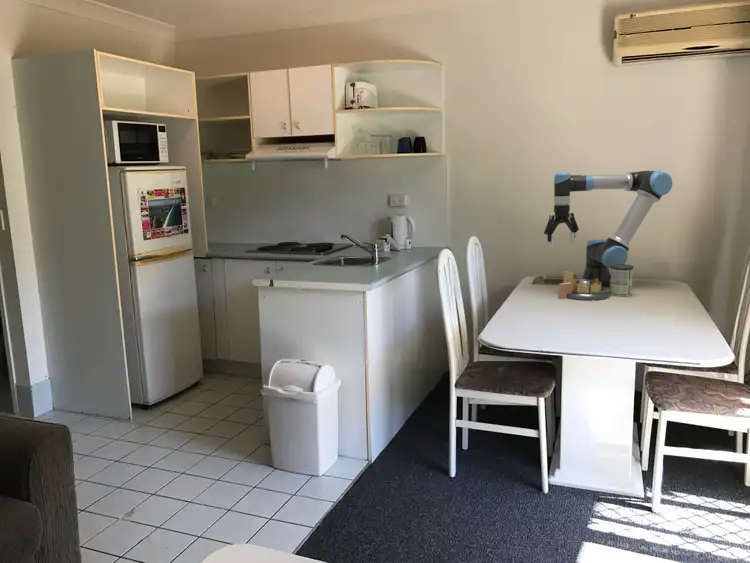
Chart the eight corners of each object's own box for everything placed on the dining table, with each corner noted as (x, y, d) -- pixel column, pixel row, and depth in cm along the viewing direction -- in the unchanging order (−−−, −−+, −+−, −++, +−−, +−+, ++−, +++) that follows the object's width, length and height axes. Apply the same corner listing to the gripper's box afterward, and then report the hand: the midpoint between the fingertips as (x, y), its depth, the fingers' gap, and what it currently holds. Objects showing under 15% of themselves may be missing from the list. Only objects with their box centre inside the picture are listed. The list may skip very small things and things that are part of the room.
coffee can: (606, 291, 311) (608, 264, 308) (628, 291, 310) (629, 264, 307) (612, 296, 301) (614, 267, 298) (634, 296, 300) (636, 267, 297)
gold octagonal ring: (607, 291, 300) (608, 277, 299) (582, 294, 295) (582, 280, 293) (577, 283, 320) (578, 270, 319) (552, 286, 315) (553, 272, 313)
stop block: (568, 296, 302) (568, 282, 301) (571, 297, 300) (572, 283, 299) (558, 297, 300) (559, 283, 298) (561, 298, 298) (562, 284, 296)
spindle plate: (599, 289, 317) (599, 275, 315) (618, 299, 293) (619, 285, 292) (552, 290, 316) (552, 276, 315) (567, 301, 293) (568, 286, 291)
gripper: (575, 201, 317) (575, 243, 321) (536, 205, 307) (536, 248, 311) (586, 202, 310) (585, 244, 315) (547, 206, 300) (546, 250, 304)
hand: (561, 246), depth 313 cm, fingers open, 13 cm apart
